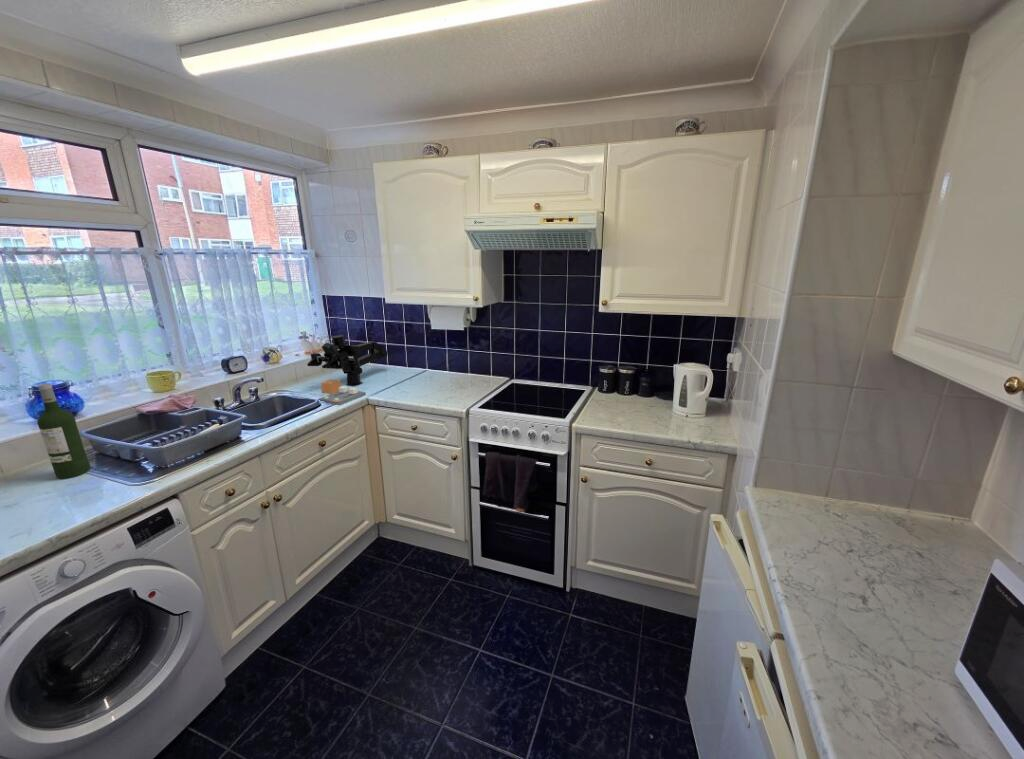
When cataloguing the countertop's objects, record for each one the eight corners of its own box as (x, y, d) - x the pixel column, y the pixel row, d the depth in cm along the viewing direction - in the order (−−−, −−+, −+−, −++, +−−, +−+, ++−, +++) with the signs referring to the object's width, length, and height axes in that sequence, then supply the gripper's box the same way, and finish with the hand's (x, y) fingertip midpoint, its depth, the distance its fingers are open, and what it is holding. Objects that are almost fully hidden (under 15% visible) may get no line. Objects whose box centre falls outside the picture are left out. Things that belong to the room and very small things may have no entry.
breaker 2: (353, 391, 210) (352, 387, 209) (357, 392, 208) (357, 388, 208) (349, 393, 207) (348, 389, 206) (353, 394, 206) (353, 389, 205)
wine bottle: (49, 480, 130) (16, 389, 122) (69, 468, 137) (40, 382, 129) (78, 477, 131) (48, 387, 123) (97, 466, 139) (70, 380, 131)
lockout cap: (332, 389, 221) (330, 379, 220) (341, 390, 219) (339, 380, 217) (322, 392, 216) (321, 382, 214) (331, 393, 213) (330, 383, 212)
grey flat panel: (344, 391, 216) (344, 387, 215) (365, 394, 211) (365, 390, 210) (318, 401, 201) (317, 396, 201) (340, 405, 196) (339, 400, 195)
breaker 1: (343, 390, 212) (343, 386, 211) (348, 391, 211) (347, 386, 210) (339, 392, 209) (338, 387, 209) (343, 392, 208) (343, 388, 208)
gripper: (320, 340, 216) (296, 348, 203) (349, 343, 210) (327, 352, 197) (324, 360, 220) (301, 369, 207) (353, 364, 214) (331, 374, 201)
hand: (314, 366), depth 203 cm, fingers open, 9 cm apart
